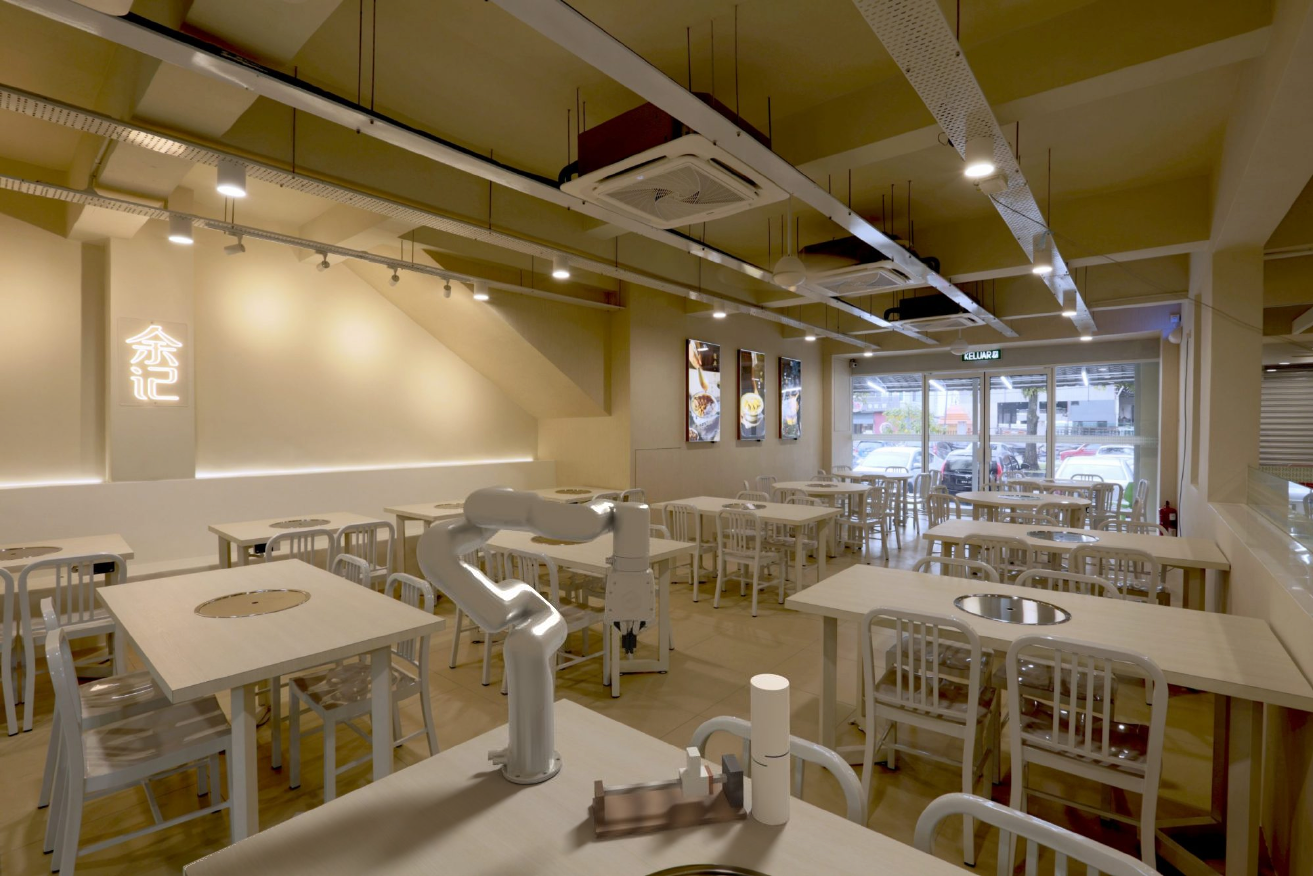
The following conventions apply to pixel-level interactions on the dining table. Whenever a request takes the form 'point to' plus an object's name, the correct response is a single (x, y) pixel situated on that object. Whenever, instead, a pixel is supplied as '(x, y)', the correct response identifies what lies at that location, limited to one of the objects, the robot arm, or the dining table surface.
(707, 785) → the sleeve
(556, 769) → the robot arm
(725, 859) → the dining table surface
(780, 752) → the cylindrical container
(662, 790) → the rail
